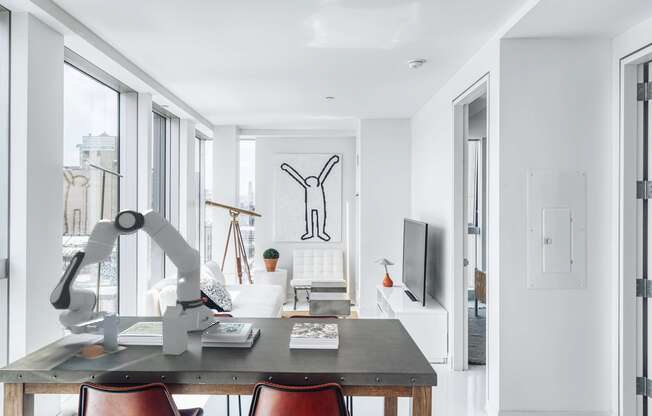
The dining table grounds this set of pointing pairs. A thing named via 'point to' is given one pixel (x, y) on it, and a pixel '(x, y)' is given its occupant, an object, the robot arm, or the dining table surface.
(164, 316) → the milk carton
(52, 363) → the dining table surface
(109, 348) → the tall grey block
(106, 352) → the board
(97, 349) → the terracotta marker
